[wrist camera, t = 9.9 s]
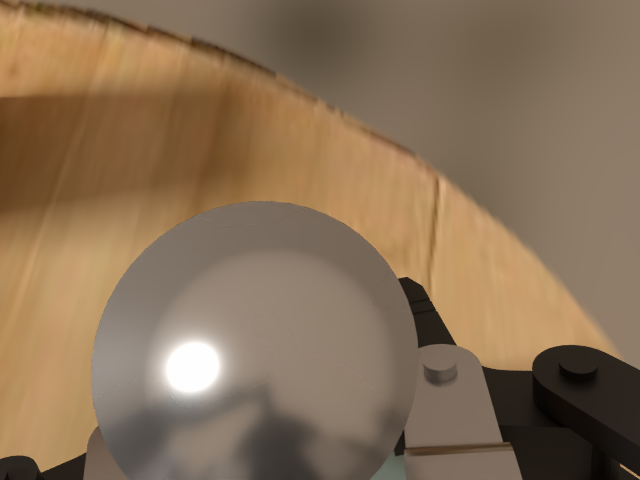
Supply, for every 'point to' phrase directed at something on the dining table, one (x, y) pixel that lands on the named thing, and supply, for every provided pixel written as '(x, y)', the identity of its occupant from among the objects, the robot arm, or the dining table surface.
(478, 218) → the dining table surface
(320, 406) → the steel pin
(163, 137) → the dining table surface
